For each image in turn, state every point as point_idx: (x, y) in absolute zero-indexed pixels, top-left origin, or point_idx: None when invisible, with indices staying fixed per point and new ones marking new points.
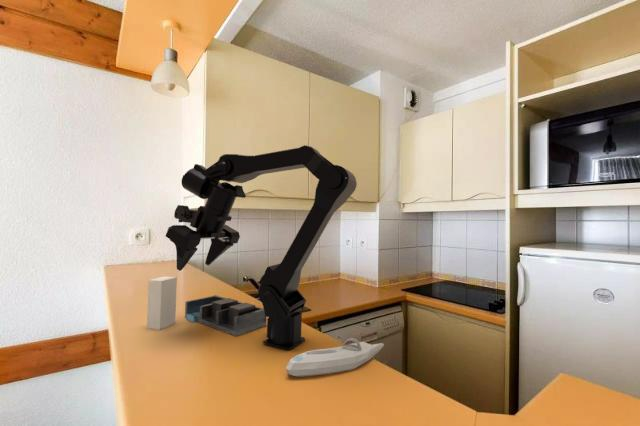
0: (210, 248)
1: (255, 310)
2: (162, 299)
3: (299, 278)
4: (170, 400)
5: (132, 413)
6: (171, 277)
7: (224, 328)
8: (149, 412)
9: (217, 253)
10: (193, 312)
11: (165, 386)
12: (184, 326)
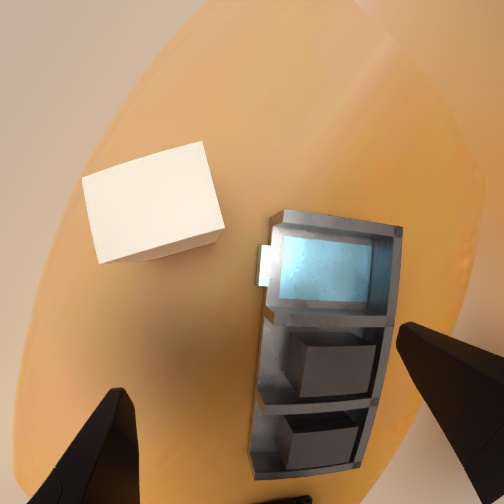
0: (490, 387)
1: (355, 438)
2: (136, 259)
3: None
4: None
5: (17, 478)
6: (199, 207)
7: (253, 420)
8: (30, 490)
9: (455, 435)
10: (297, 230)
11: None
12: (213, 293)
